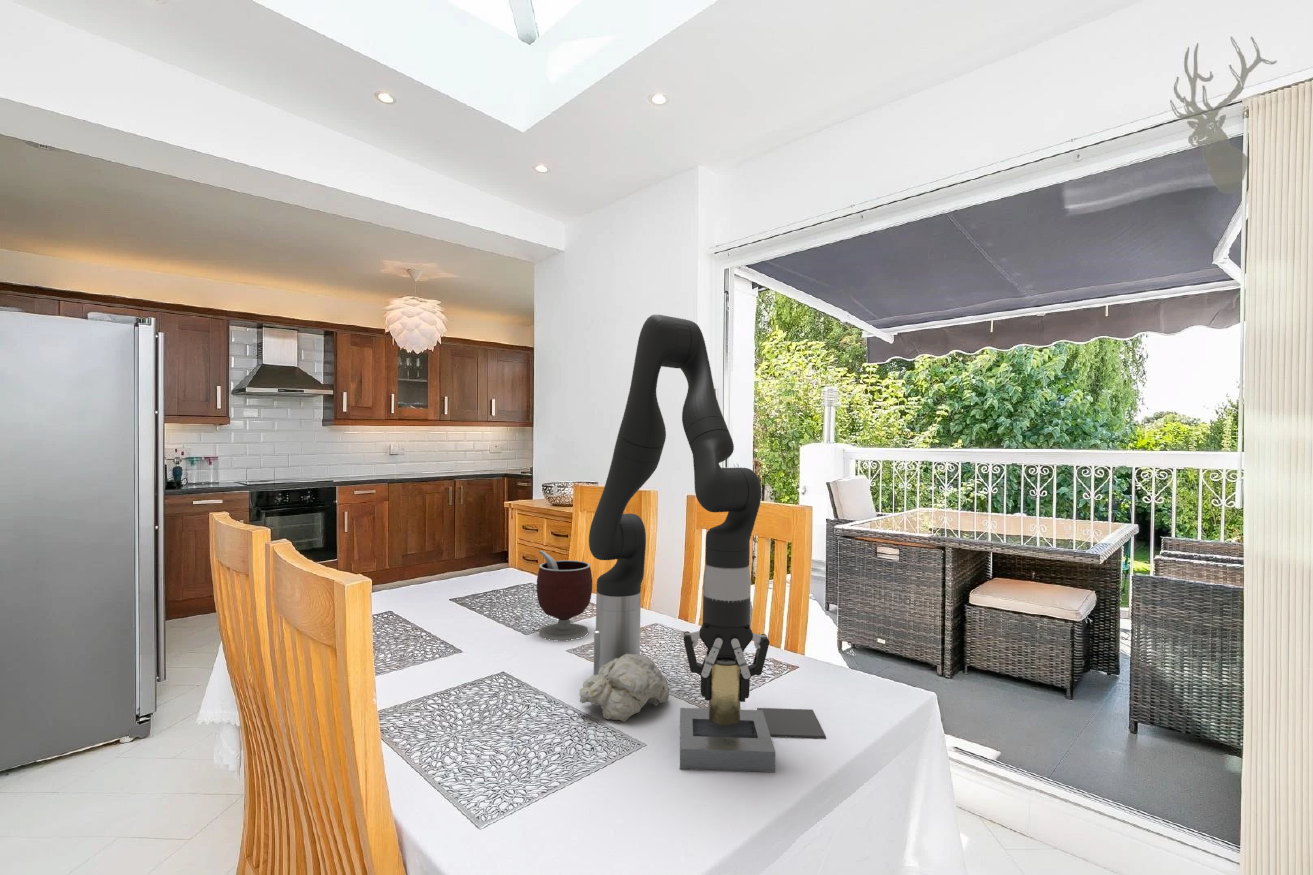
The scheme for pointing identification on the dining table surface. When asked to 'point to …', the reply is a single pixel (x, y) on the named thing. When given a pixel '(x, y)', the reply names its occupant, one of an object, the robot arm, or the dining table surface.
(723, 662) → the tan cylinder
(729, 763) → the block
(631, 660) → the mineral
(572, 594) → the mate gourd
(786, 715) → the mat
